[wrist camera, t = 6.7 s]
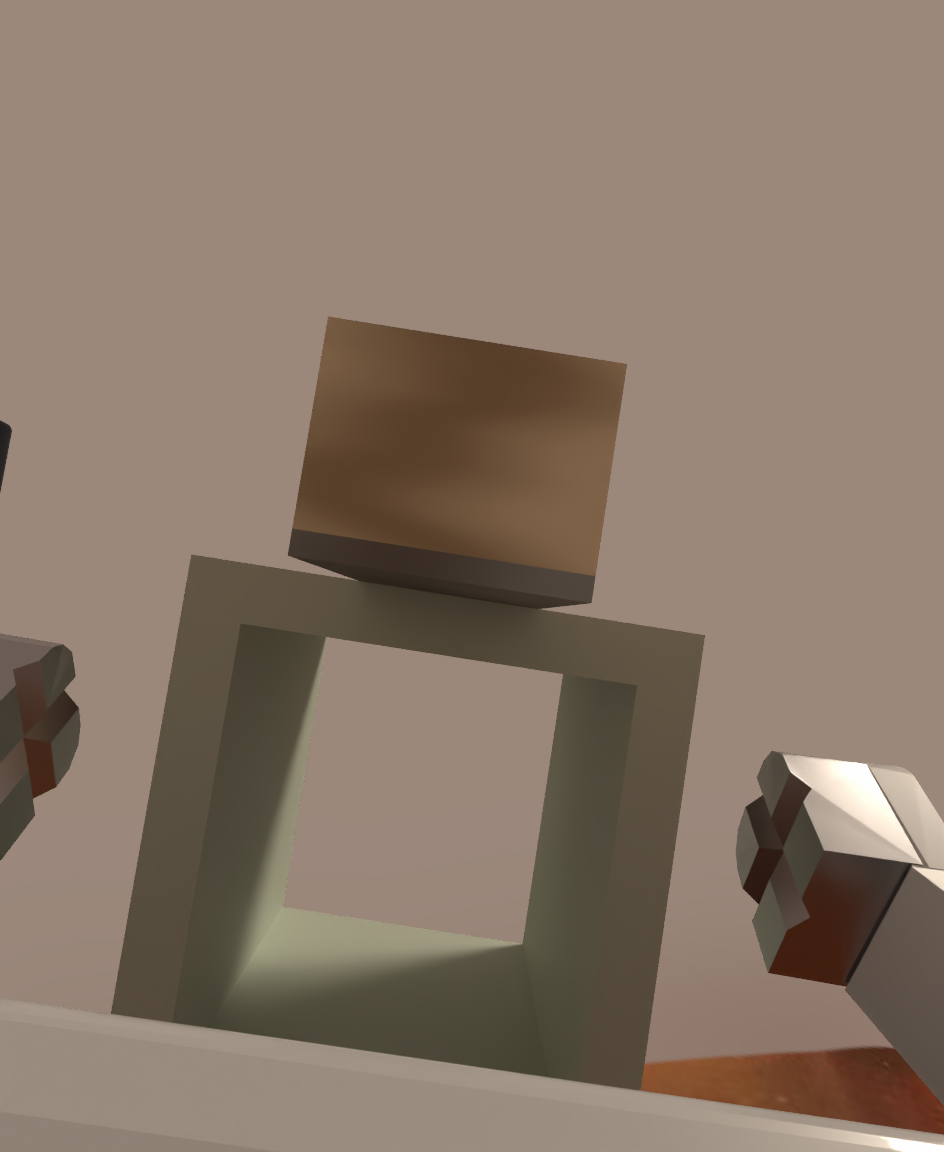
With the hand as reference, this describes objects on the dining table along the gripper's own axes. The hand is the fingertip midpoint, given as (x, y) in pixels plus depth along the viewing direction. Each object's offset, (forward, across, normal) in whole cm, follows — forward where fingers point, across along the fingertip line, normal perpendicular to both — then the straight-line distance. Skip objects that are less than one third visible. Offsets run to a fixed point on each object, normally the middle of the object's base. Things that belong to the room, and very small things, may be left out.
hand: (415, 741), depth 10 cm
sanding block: (+11, 0, +4) cm, 12 cm away
